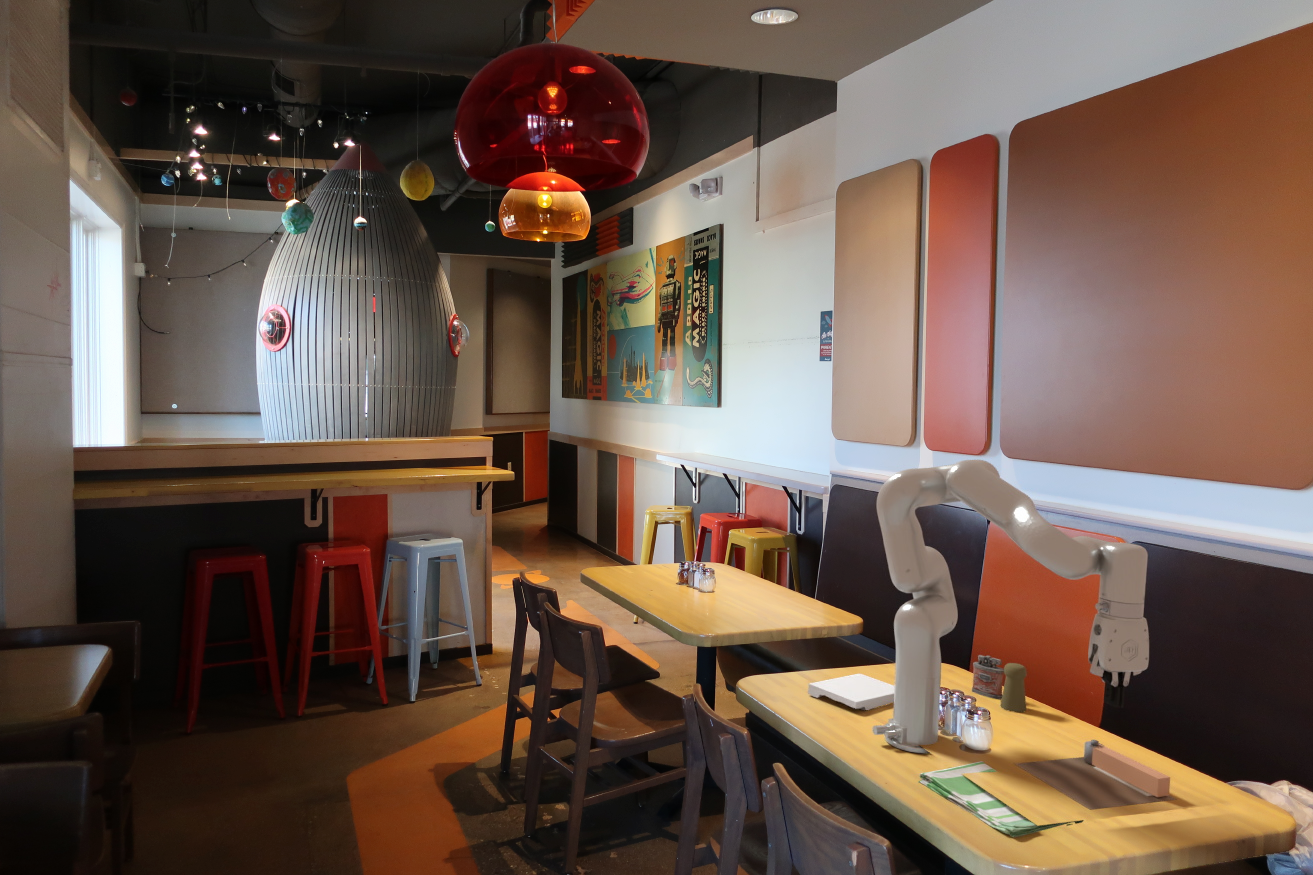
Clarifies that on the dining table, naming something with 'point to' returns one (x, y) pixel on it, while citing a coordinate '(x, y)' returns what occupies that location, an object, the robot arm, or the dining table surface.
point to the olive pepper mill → (1014, 688)
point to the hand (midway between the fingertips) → (1113, 704)
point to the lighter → (988, 677)
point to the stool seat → (1089, 783)
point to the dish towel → (980, 799)
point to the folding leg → (1126, 769)
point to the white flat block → (855, 691)
